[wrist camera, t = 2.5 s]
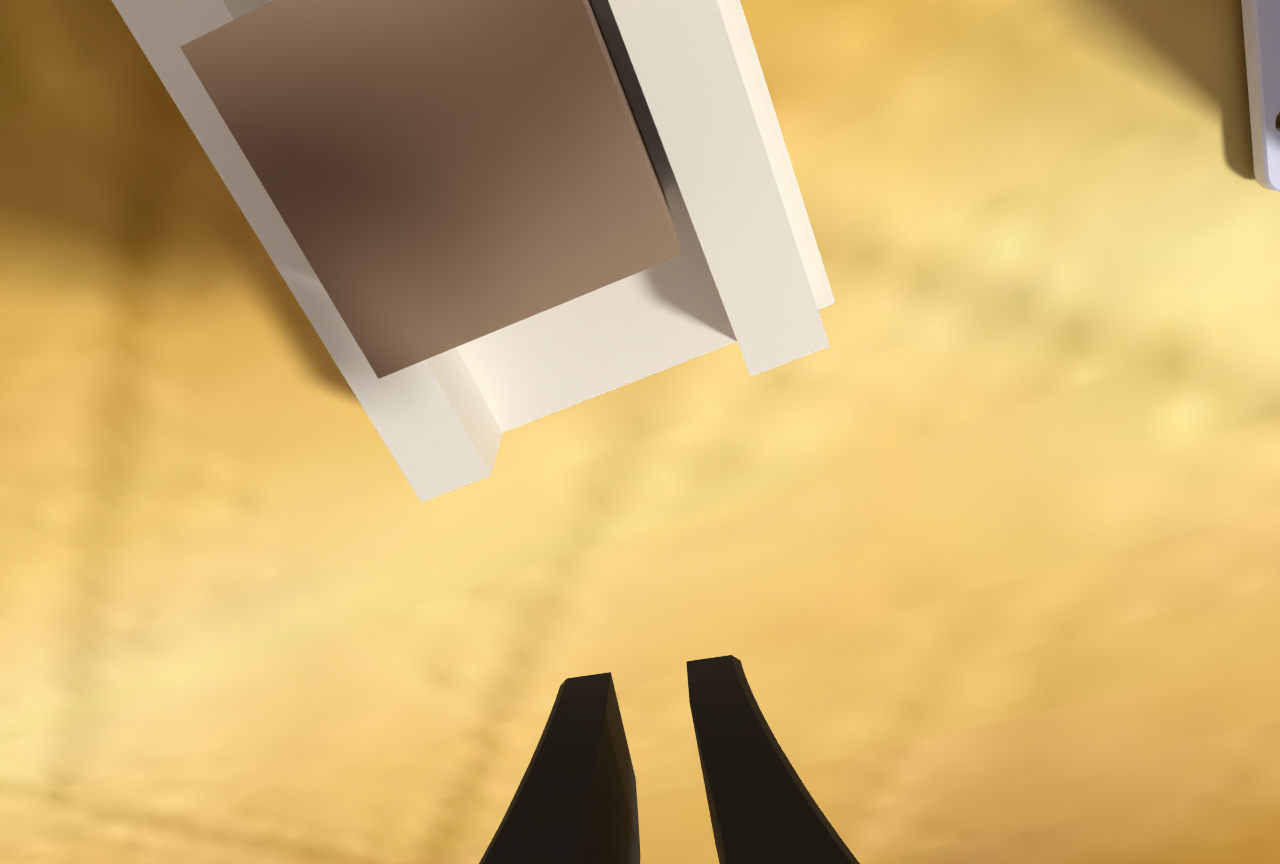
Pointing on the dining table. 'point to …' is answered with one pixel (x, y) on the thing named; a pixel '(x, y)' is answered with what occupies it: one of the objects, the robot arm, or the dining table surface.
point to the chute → (605, 318)
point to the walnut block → (441, 159)
